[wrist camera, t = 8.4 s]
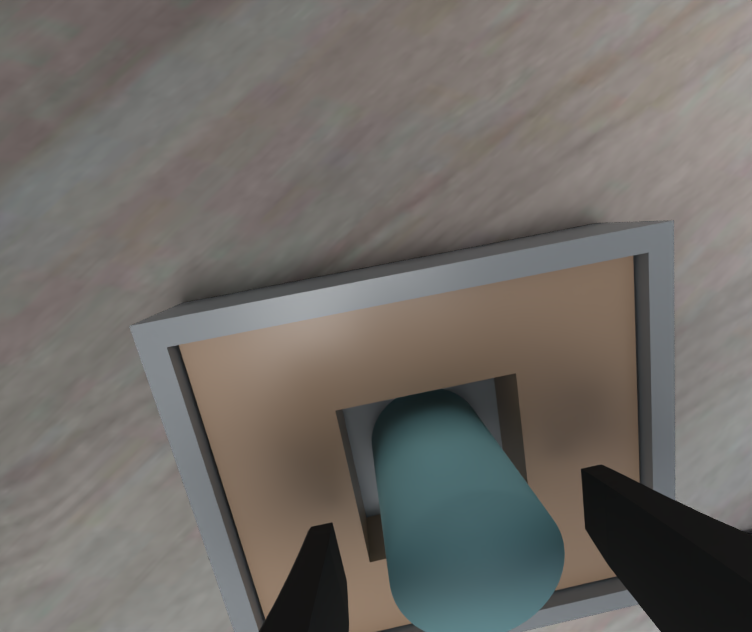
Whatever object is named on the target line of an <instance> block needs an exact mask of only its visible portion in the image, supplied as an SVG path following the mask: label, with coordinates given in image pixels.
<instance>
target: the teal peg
mask: <svg viewBox="0 0 752 632" xmlns="http://www.w3.org/2000/svg"><path fill="white" fill-rule="evenodd" d="M372 451H373V459H374V467H375V474H376V482H377V490H378V498H379V506H380V513H381V521H382V529H383V537H384V545H385V552H386V560H387V568H388V576H389V584H390V589H391V593H392V596H393V598H394V601H395V603H396V605H397V607H398V608H399V610H400V611H401V613H402V614H403V615H404V616H405V617H406V618H407V619H408V620H409V621H410V622H411V623H412V624H414V625H415V626H416V627H418V628H420V629H421V630H423V631H425V632H507V631H509V630H511V629H513V628H516V627H517V626H519V625H521V624H522V623H524V622H525V621H527V620H528V619H529V618H531V617H532V616H533V615H535V614H536V613H537V612H538V611H539V610H540V609H541V608H542V607H543V606H544V605H545V603H546V602H547V601H548V600H549V598H550V597H551V595H552V594H553V592H554V591H555V589H556V587H557V585H558V583H559V581H560V578H561V575H562V572H563V567H564V559H565V550H564V542H563V539H562V535H561V532H560V530H559V528H558V526H557V524H556V523H555V521H554V520H553V518H552V517H551V515H550V514H549V513H548V511H547V510H546V509H545V507H544V506H543V504H542V503H541V502H540V500H539V499H538V498H537V496H536V495H535V493H534V492H533V491H532V489H531V488H530V487H529V485H528V484H527V482H526V481H525V480H524V478H523V477H522V476H521V474H520V473H519V471H518V470H517V469H516V467H515V466H514V465H513V463H512V462H511V460H510V459H509V458H508V456H507V455H506V453H505V452H504V451H503V449H502V448H501V447H500V445H499V444H498V442H497V441H496V440H495V438H494V437H493V436H492V434H491V433H490V431H489V430H488V429H487V427H486V426H485V425H484V423H483V422H482V420H481V419H480V418H479V416H478V415H477V414H476V412H475V411H474V409H473V408H472V407H471V405H470V404H469V403H468V402H467V401H466V400H464V399H463V398H462V397H461V396H459V395H457V394H456V393H453V392H451V391H448V390H445V389H437V390H433V391H428V392H423V393H418V394H413V395H408V396H404V397H399V398H396V399H394V400H393V401H392V402H391V403H389V404H388V405H387V406H386V407H385V409H384V410H383V411H382V412H381V414H380V415H379V417H378V419H377V421H376V423H375V426H374V429H373V433H372Z"/></svg>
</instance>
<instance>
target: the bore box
mask: <svg viewBox="0 0 752 632" xmlns="http://www.w3.org/2000/svg"><path fill="white" fill-rule="evenodd" d="M129 327H130V330H131V333H132V336H133V338H134V341H135V344H136V347H137V350H138V353H139V356H140V359H141V362H142V365H143V368H144V371H145V373H146V376H147V379H148V382H149V385H150V388H151V391H152V394H153V397H154V400H155V403H156V405H157V408H158V411H159V414H160V417H161V420H162V423H163V426H164V429H165V432H166V435H167V437H168V440H169V443H170V446H171V449H172V452H173V455H174V458H175V461H176V464H177V467H178V470H179V472H180V475H181V478H182V481H183V484H184V487H185V490H186V493H187V496H188V499H189V502H190V504H191V507H192V510H193V513H194V516H195V519H196V522H197V525H198V528H199V531H200V534H201V537H202V539H203V542H204V545H205V548H206V551H207V554H208V557H209V560H210V563H211V566H212V569H213V571H214V574H215V577H216V580H217V583H218V586H219V589H220V592H221V595H222V598H223V601H224V604H225V606H226V609H227V612H228V615H229V618H230V621H231V624H232V627H233V630H234V632H259V630H260V628H261V626H262V625H263V623H264V621H265V619H266V617H267V616H268V614H269V612H270V610H271V608H272V607H273V605H274V603H275V601H276V599H277V597H278V595H279V593H280V591H281V589H282V587H283V585H284V583H285V581H286V579H287V577H288V575H289V573H290V571H291V569H292V566H293V564H294V562H295V560H296V558H297V555H298V553H299V551H300V549H301V546H302V544H303V542H304V539H305V537H306V535H307V532H308V530H309V529H310V528H311V527H312V526H317V525H322V524H326V523H331V522H333V526H334V530H335V535H336V539H337V543H338V547H339V551H340V555H341V559H342V563H343V567H344V571H345V575H346V579H347V590H348V608H349V632H425V631H423V630H421V629H420V628H418V627H416V626H415V625H414V624H412V623H411V622H410V621H409V620H408V619H407V618H406V617H405V616H404V615H403V614H402V613H401V611H400V610H399V608H398V607H397V605H396V603H395V601H394V598H393V596H392V593H391V589H390V584H389V576H388V568H387V560H386V552H385V545H384V537H383V529H382V521H381V513H380V506H379V498H378V490H377V482H376V474H375V467H374V459H373V451H372V433H373V429H374V426H375V423H376V421H377V419H378V417H379V415H380V414H381V412H382V411H383V410H384V409H385V407H386V406H387V405H388V404H389V403H391V402H392V401H393V400H394V399H396V398H399V397H404V396H408V395H413V394H418V393H423V392H428V391H433V390H437V389H445V390H448V391H451V392H453V393H456V394H457V395H459V396H461V397H462V398H463V399H464V400H466V401H467V402H468V403H469V404H470V405H471V407H472V408H473V409H474V411H475V412H476V414H477V415H478V416H479V418H480V419H481V420H482V422H483V423H484V425H485V426H486V427H487V429H488V430H489V431H490V433H491V434H492V436H493V437H494V438H495V440H496V441H497V442H498V444H499V445H500V447H501V448H502V449H503V451H504V452H505V453H506V455H507V456H508V458H509V459H510V460H511V462H512V463H513V465H514V466H515V467H516V469H517V470H518V471H519V473H520V474H521V476H522V477H523V478H524V480H525V481H526V482H527V484H528V485H529V487H530V488H531V489H532V491H533V492H534V493H535V495H536V496H537V498H538V499H539V500H540V502H541V503H542V504H543V506H544V507H545V509H546V510H547V511H548V513H549V514H550V515H551V517H552V518H553V520H554V521H555V523H556V524H557V526H558V528H559V530H560V532H561V535H562V539H563V542H564V550H565V559H564V567H563V572H562V575H561V578H560V581H559V583H558V585H557V587H556V589H555V591H554V592H553V594H552V595H551V597H550V598H549V600H548V601H547V602H546V603H545V605H544V606H543V607H542V608H541V609H540V610H539V611H538V612H537V613H536V614H535V615H533V616H532V617H531V618H529V619H528V620H527V621H525V622H524V623H522V624H521V625H519V626H517V627H516V628H513V629H511V630H509V631H507V632H523V631H527V630H531V629H536V628H540V627H544V626H548V625H553V624H557V623H561V622H566V621H570V620H574V619H578V618H583V617H587V616H591V615H596V614H600V613H604V612H608V611H613V610H617V609H621V608H625V607H630V606H634V605H638V602H637V601H636V600H635V599H634V597H633V596H632V595H631V594H630V592H629V591H628V590H627V589H626V587H625V586H624V585H623V584H622V582H621V581H620V580H619V579H618V577H617V576H616V575H615V573H614V572H613V571H612V570H611V568H610V567H609V566H608V564H607V563H606V561H605V560H604V558H603V557H602V555H601V553H600V552H599V550H598V549H597V547H596V546H595V544H594V542H593V541H592V539H591V538H590V536H589V534H588V533H587V531H586V530H585V521H584V507H583V493H582V479H581V469H582V468H587V467H591V466H596V465H601V464H602V465H604V466H606V467H608V468H611V469H613V470H615V471H617V472H619V473H621V474H623V475H625V476H627V477H629V478H631V479H633V480H635V481H637V482H639V483H641V484H643V485H645V486H647V487H649V488H651V489H653V490H655V491H657V492H659V493H661V494H663V495H665V496H667V497H669V498H671V499H673V500H675V365H674V220H672V221H643V222H614V223H595V224H590V225H585V226H580V227H574V228H569V229H564V230H559V231H554V232H548V233H543V234H538V235H533V236H528V237H523V238H517V239H512V240H507V241H502V242H497V243H491V244H486V245H481V246H476V247H471V248H465V249H460V250H455V251H450V252H445V253H440V254H434V255H429V256H424V257H419V258H414V259H408V260H403V261H398V262H393V263H388V264H382V265H377V266H372V267H367V268H362V269H357V270H351V271H346V272H341V273H336V274H331V275H325V276H320V277H315V278H310V279H305V280H299V281H294V282H289V283H284V284H279V285H273V286H268V287H263V288H258V289H253V290H248V291H242V292H237V293H232V294H227V295H222V296H216V297H211V298H206V299H201V300H196V301H190V302H185V303H181V304H179V305H176V306H174V307H172V308H169V309H167V310H165V311H163V312H160V313H158V314H156V315H153V316H151V317H149V318H147V319H144V320H142V321H140V322H137V323H135V324H133V325H131V326H129Z"/></svg>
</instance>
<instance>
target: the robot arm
mask: <svg viewBox="0 0 752 632" xmlns="http://www.w3.org/2000/svg"><path fill="white" fill-rule="evenodd" d="M581 479H582V493H583V507H584V521H585V530H586V531H587V533H588V534H589V536H590V538H591V539H592V541H593V542H594V544H595V546H596V547H597V549H598V550H599V552H600V553H601V555H602V557H603V558H604V560H605V561H606V563H607V564H608V566H609V567H610V568H611V570H612V571H613V572H614V573H615V575H616V576H617V577H618V579H619V580H620V581H621V582H622V584H623V585H624V586H625V587H626V589H627V590H628V591H629V592H630V594H631V595H632V596H633V597H634V599H635V600H636V601H637V602H638V604H639V605H640V606H641V607H642V609H643V610H644V611H645V612H646V614H647V615H648V616H649V617H650V619H651V620H652V621H653V622H654V624H655V625H656V626H657V627H658V629H659V630H660V631H661V632H752V535H750V534H748V533H746V532H743V531H741V530H739V529H736V528H734V527H732V526H730V525H727V524H725V523H723V522H720V521H718V520H716V519H714V518H711V517H709V516H707V515H705V514H703V513H700V512H698V511H696V510H694V509H692V508H690V507H688V506H686V505H683V504H681V503H679V502H677V501H675V500H673V499H671V498H669V497H667V496H665V495H663V494H661V493H659V492H657V491H655V490H653V489H651V488H649V487H647V486H645V485H643V484H641V483H639V482H637V481H635V480H633V479H631V478H629V477H627V476H625V475H623V474H621V473H619V472H617V471H615V470H613V469H611V468H608V467H606V466H604V465H602V464H601V465H596V466H591V467H587V468H582V469H581ZM259 632H349V608H348V590H347V579H346V575H345V571H344V567H343V563H342V559H341V555H340V551H339V547H338V543H337V539H336V535H335V530H334V526H333V522H331V523H326V524H322V525H317V526H312V527H311V528H310V529H309V530H308V532H307V535H306V537H305V539H304V542H303V544H302V546H301V549H300V551H299V553H298V555H297V558H296V560H295V562H294V564H293V566H292V569H291V571H290V573H289V575H288V577H287V579H286V581H285V583H284V585H283V587H282V589H281V591H280V593H279V595H278V597H277V599H276V601H275V603H274V605H273V607H272V608H271V610H270V612H269V614H268V616H267V617H266V619H265V621H264V623H263V625H262V626H261V628H260V630H259Z"/></svg>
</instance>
